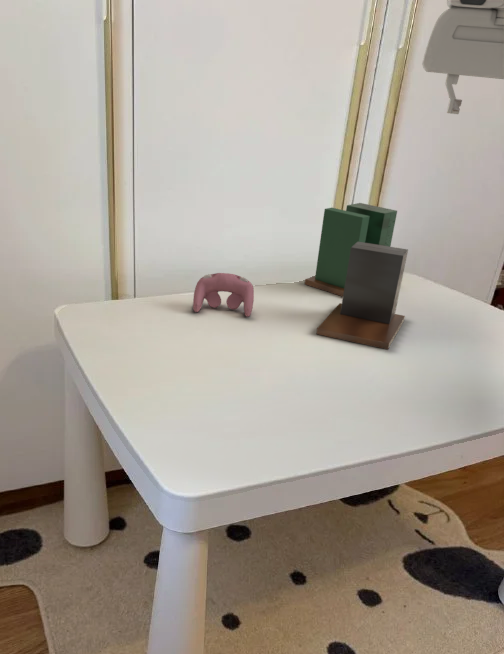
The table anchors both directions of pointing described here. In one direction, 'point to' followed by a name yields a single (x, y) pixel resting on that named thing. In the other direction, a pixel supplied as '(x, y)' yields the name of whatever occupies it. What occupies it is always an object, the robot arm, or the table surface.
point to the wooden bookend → (369, 297)
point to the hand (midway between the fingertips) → (488, 117)
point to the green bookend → (376, 234)
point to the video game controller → (226, 283)
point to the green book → (338, 244)
